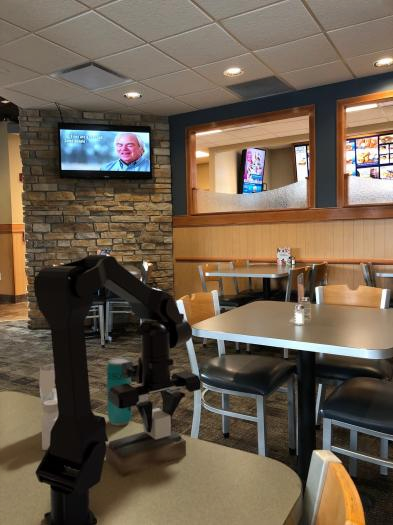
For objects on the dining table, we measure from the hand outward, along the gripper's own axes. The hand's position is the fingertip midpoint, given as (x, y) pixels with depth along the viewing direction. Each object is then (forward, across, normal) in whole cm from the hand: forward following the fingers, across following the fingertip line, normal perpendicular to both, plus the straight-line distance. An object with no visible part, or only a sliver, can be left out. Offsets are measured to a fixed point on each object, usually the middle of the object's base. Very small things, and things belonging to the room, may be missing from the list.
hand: (157, 429), depth 88 cm
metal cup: (+5, +14, -23) cm, 27 cm away
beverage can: (+5, 0, -19) cm, 20 cm away
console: (+5, +3, 0) cm, 6 cm away
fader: (+2, 0, 0) cm, 2 cm away
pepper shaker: (+5, +17, -16) cm, 24 cm away
